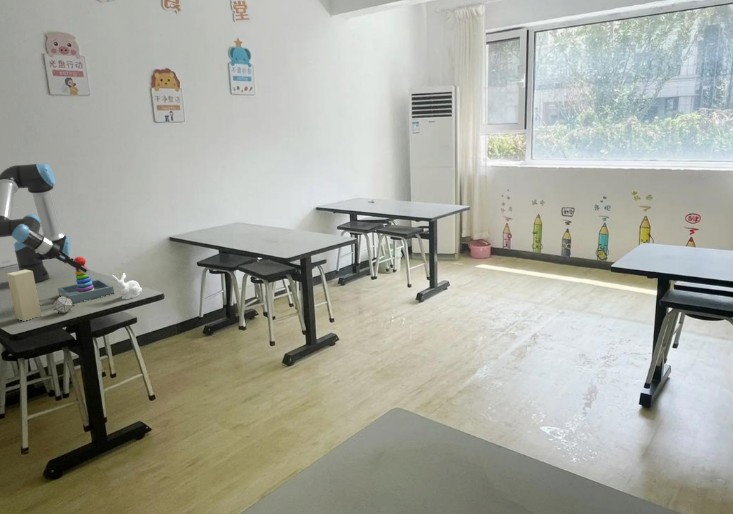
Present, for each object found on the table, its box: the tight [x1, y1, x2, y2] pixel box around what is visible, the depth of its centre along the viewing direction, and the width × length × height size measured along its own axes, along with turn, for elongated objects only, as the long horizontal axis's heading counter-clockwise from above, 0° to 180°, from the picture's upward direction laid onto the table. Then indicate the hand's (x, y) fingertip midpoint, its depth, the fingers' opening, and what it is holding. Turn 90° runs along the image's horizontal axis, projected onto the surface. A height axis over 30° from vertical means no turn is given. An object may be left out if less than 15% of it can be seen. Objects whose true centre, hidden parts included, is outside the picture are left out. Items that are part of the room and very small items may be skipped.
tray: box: [57, 278, 115, 305], centre depth 270 cm, size 20×20×4 cm
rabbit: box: [111, 272, 143, 300], centre depth 263 cm, size 12×9×12 cm
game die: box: [51, 295, 76, 315], centre depth 244 cm, size 9×8×10 cm
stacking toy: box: [73, 256, 95, 294], centre depth 268 cm, size 8×8×19 cm
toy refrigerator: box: [6, 270, 42, 322], centre depth 239 cm, size 8×7×21 cm
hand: (87, 272), depth 269 cm, fingers open, 13 cm apart
